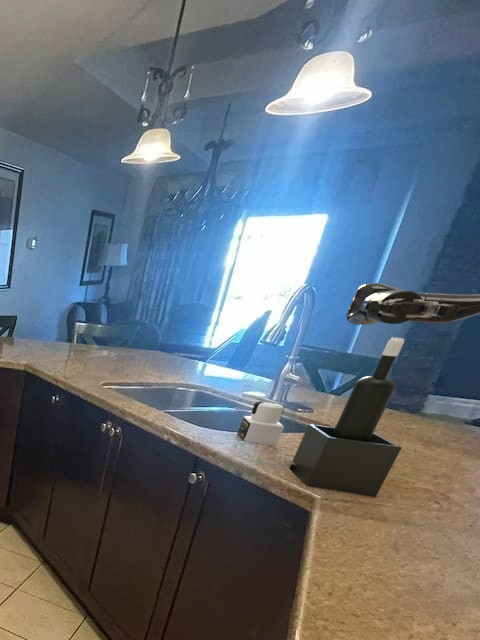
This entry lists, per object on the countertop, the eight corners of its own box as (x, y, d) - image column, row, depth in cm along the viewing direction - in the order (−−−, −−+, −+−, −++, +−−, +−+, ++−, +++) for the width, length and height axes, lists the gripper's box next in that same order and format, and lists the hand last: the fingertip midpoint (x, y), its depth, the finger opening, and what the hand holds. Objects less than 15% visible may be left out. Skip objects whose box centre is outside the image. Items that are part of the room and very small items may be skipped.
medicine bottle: (234, 440, 134) (250, 397, 130) (266, 445, 132) (283, 401, 127) (240, 447, 129) (257, 403, 124) (274, 452, 126) (292, 407, 121)
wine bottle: (327, 472, 111) (392, 336, 99) (356, 482, 106) (427, 340, 94) (307, 472, 110) (369, 335, 98) (334, 483, 105) (403, 339, 93)
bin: (351, 478, 111) (374, 432, 107) (375, 497, 101) (402, 447, 97) (289, 468, 115) (308, 424, 111) (306, 485, 106) (328, 437, 101)
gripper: (360, 288, 120) (384, 289, 107) (442, 291, 114) (479, 293, 101) (346, 320, 123) (368, 325, 110) (425, 325, 117) (459, 330, 104)
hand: (421, 309), depth 106 cm, fingers open, 8 cm apart
